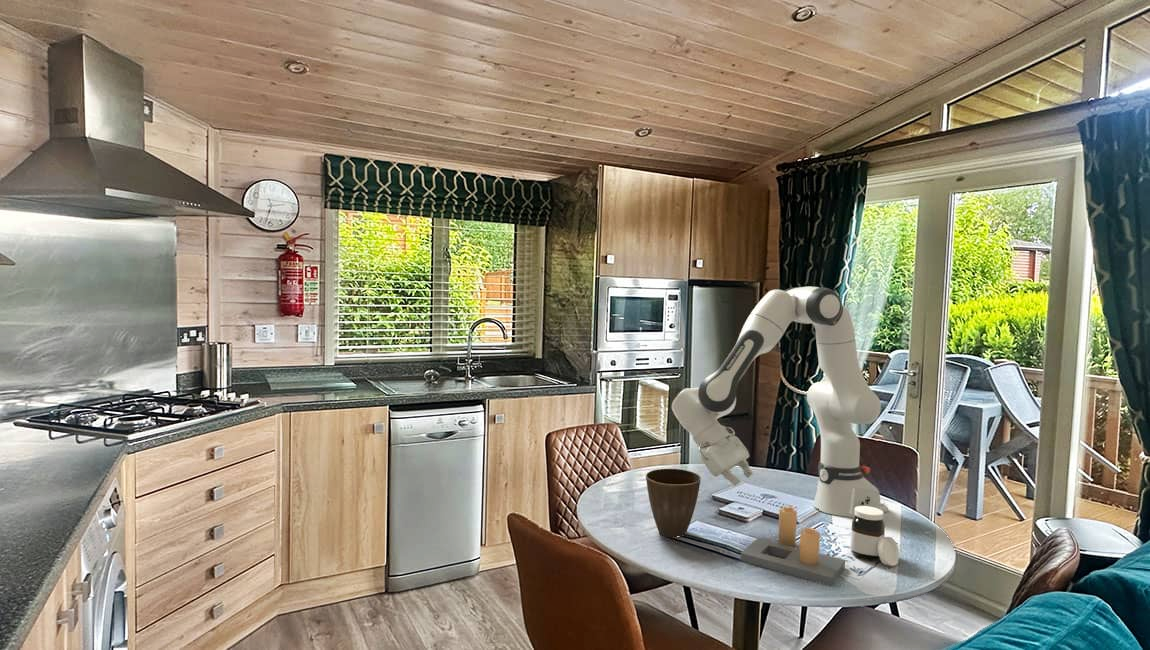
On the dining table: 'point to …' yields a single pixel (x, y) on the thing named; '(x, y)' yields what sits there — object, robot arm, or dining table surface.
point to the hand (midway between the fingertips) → (744, 480)
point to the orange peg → (787, 526)
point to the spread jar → (872, 537)
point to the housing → (796, 558)
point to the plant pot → (672, 499)
